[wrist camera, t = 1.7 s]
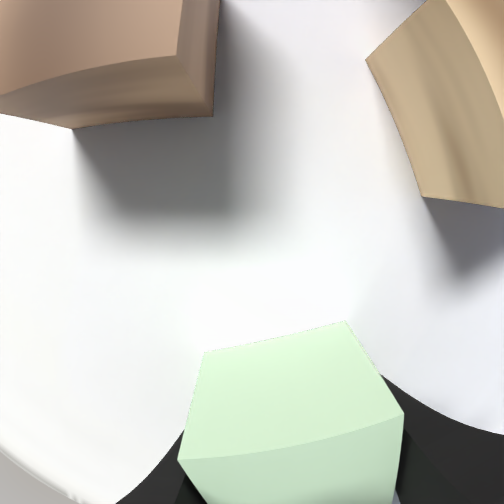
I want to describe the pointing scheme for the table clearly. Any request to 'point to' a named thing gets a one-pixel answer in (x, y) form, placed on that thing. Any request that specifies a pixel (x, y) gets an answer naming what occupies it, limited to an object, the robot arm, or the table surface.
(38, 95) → the walnut block
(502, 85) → the oak block
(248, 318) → the table surface
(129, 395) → the table surface
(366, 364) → the sage painted block
